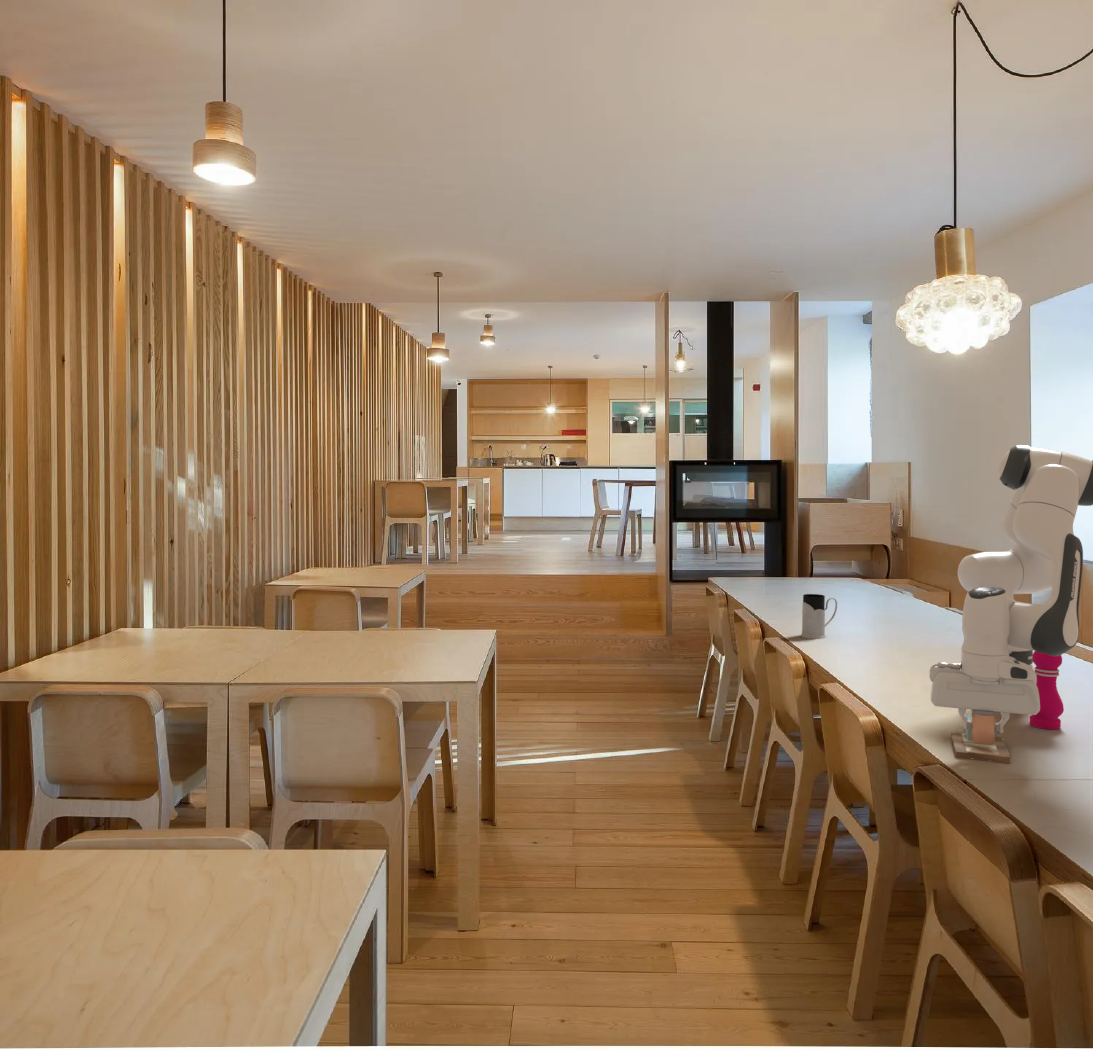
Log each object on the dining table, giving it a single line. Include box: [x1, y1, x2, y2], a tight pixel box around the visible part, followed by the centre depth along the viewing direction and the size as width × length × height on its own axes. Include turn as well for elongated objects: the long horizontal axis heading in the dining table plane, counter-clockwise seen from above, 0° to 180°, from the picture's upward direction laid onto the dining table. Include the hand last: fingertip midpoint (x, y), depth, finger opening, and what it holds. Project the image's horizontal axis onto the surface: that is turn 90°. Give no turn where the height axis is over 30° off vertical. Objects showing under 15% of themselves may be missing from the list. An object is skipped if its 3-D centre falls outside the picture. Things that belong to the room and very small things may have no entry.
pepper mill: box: [1029, 651, 1065, 730], centre depth 196 cm, size 7×7×20 cm
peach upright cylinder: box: [971, 709, 996, 744], centre depth 176 cm, size 4×4×7 cm
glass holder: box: [800, 593, 838, 640], centre depth 306 cm, size 9×14×15 cm, turn 107°
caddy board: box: [950, 732, 1012, 764], centre depth 179 cm, size 14×10×1 cm
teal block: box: [965, 713, 972, 741], centre depth 182 cm, size 4×4×4 cm
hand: (982, 730), depth 176 cm, fingers closed on peach upright cylinder, 4 cm apart
